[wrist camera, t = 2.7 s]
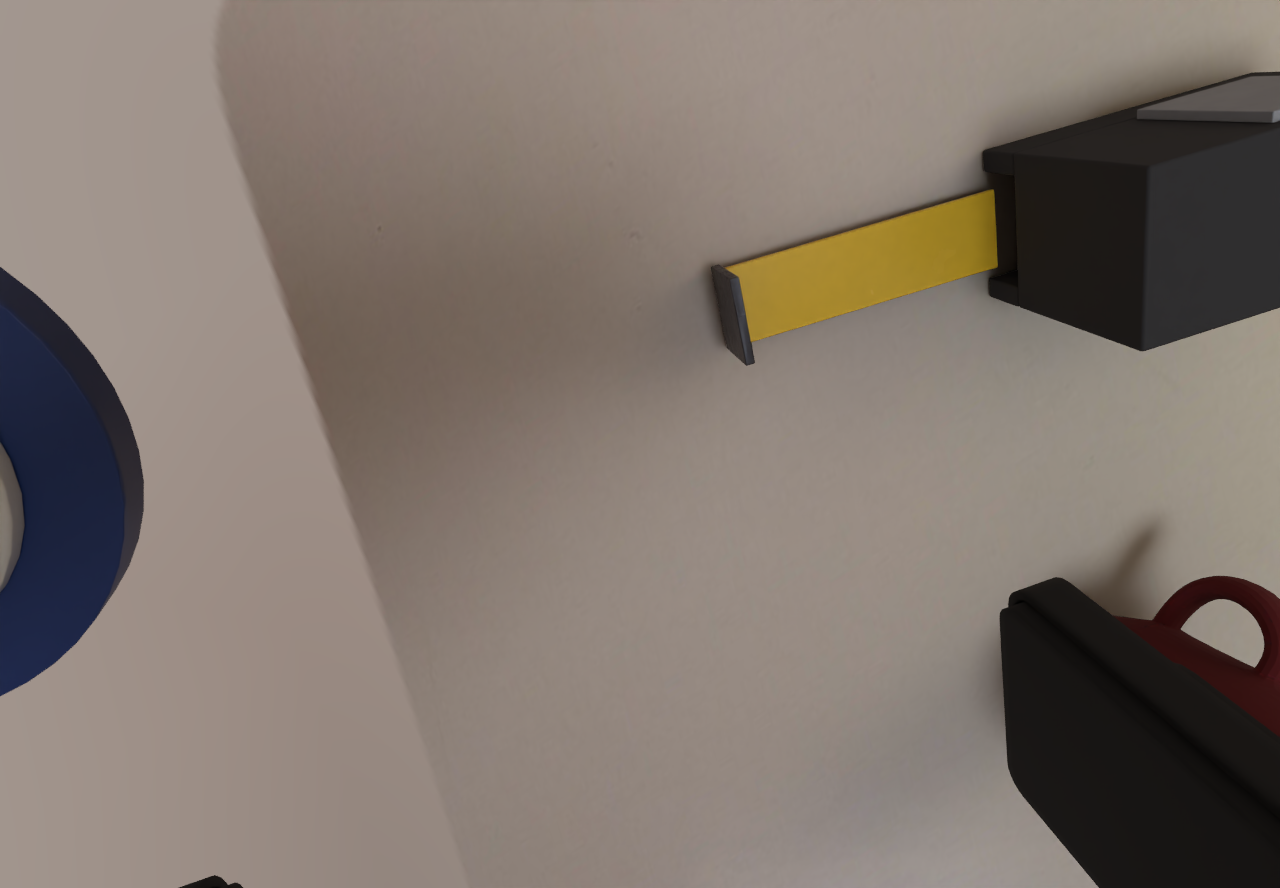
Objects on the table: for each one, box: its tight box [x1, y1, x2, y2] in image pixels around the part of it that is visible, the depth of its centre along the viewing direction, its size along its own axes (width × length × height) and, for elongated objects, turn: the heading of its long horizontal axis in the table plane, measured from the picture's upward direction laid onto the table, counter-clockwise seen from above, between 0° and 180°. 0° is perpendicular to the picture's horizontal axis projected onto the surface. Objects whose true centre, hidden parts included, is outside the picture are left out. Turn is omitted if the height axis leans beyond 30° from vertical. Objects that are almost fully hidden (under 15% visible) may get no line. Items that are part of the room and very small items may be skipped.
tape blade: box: [711, 189, 998, 366], centre depth 26 cm, size 10×3×2 cm, turn 104°
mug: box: [1112, 576, 1280, 737], centre depth 31 cm, size 11×8×10 cm
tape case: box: [983, 72, 1280, 351], centre depth 25 cm, size 10×6×7 cm, turn 104°
